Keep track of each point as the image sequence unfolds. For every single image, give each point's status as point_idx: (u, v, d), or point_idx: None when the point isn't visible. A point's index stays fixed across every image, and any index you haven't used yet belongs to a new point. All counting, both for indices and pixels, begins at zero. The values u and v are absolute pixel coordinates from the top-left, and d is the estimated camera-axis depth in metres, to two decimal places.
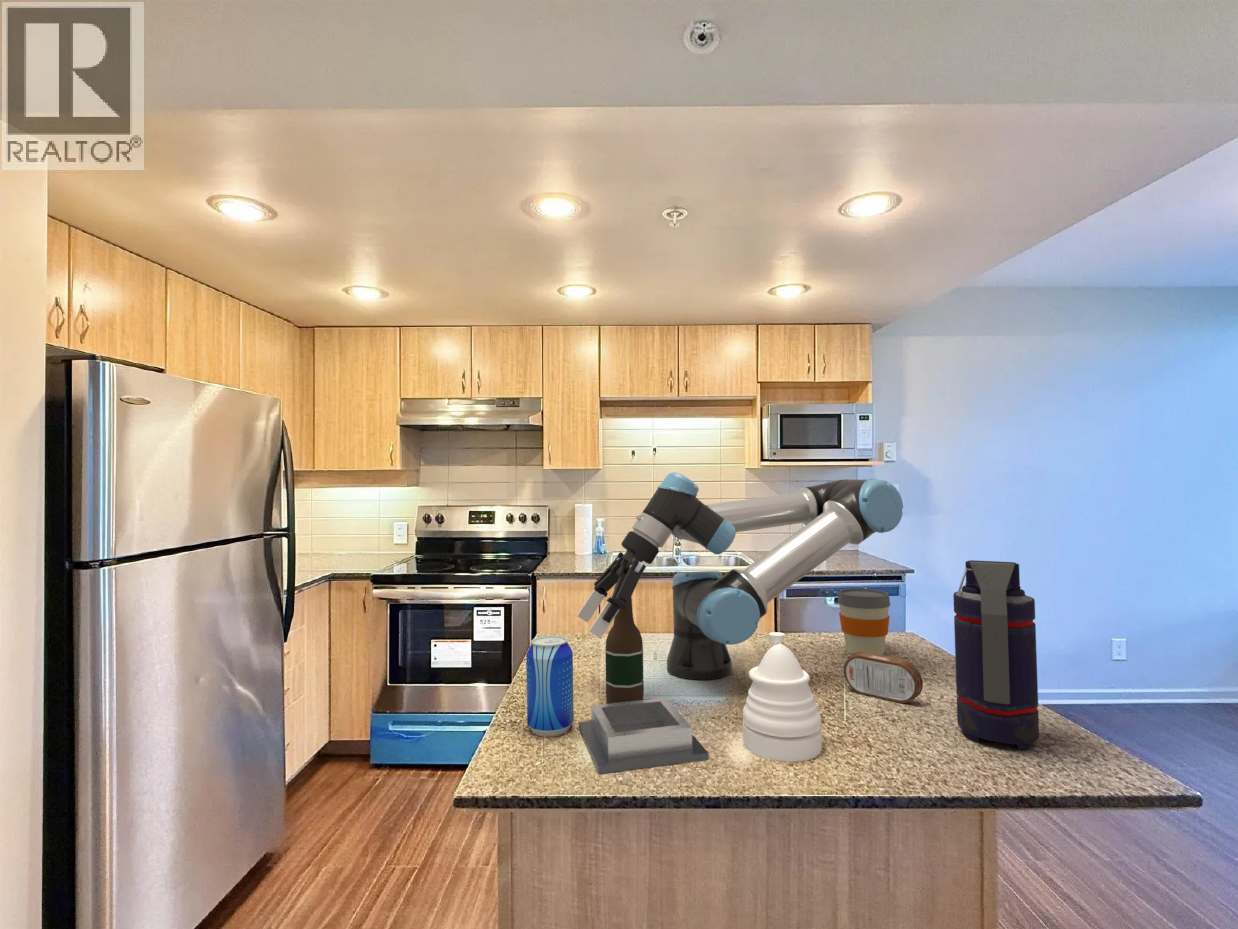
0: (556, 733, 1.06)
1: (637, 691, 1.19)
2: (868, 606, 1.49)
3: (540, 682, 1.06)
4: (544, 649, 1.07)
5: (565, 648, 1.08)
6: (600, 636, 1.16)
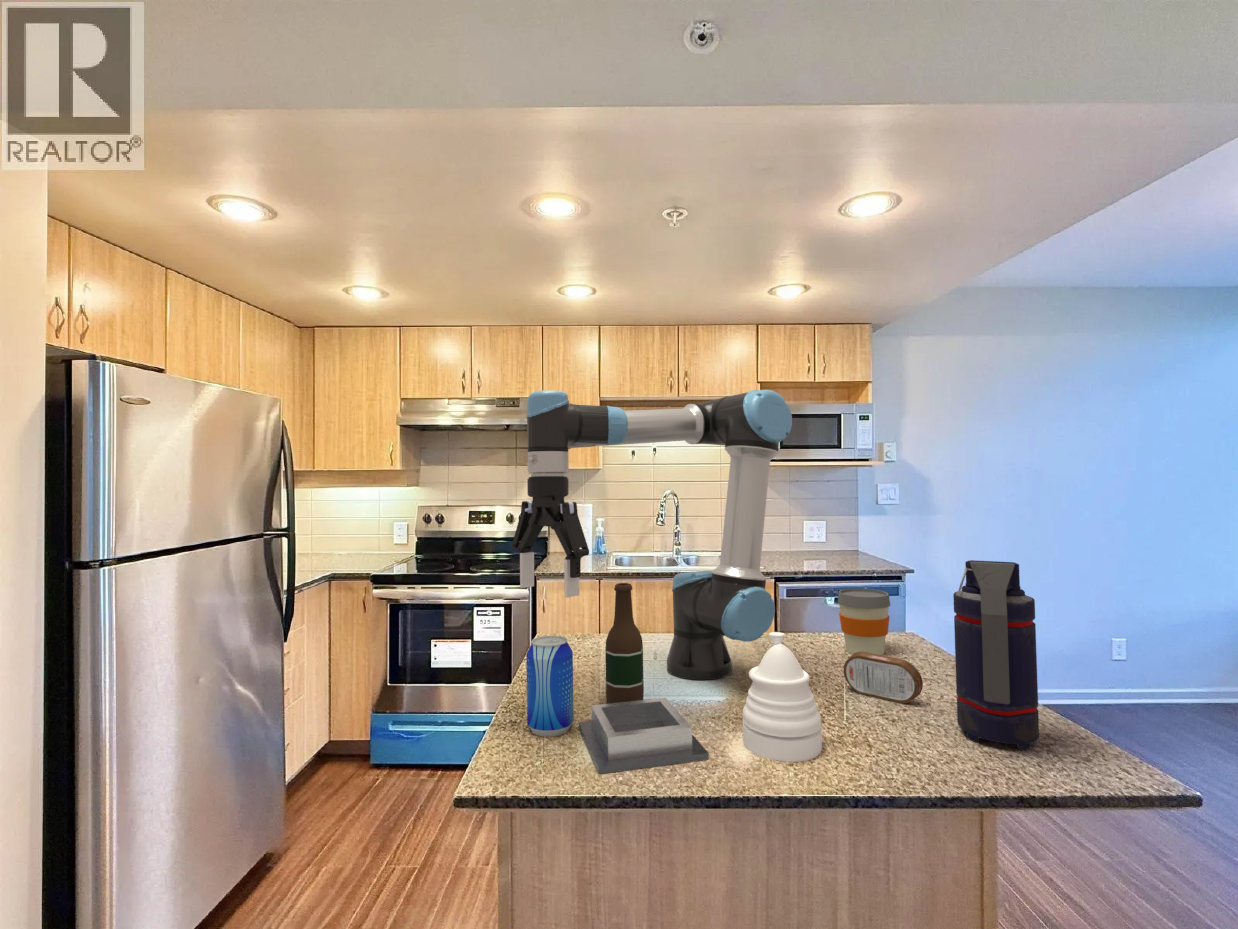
0: (556, 733, 1.06)
1: (637, 691, 1.19)
2: (868, 606, 1.49)
3: (540, 682, 1.06)
4: (544, 649, 1.07)
5: (565, 648, 1.08)
6: (578, 593, 1.06)
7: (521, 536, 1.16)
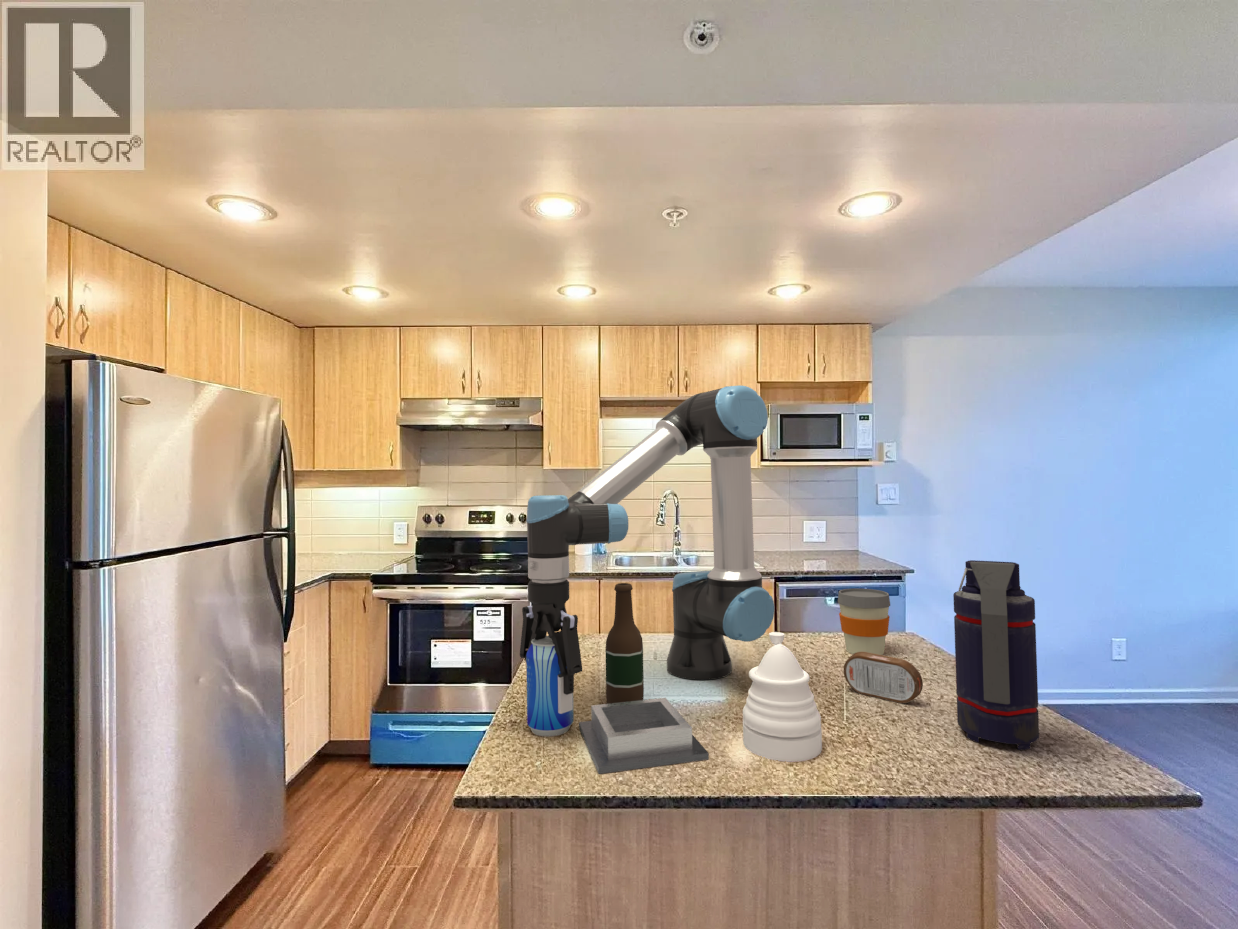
0: (556, 733, 1.06)
1: (637, 691, 1.19)
2: (868, 606, 1.49)
3: (540, 682, 1.06)
4: (544, 648, 1.07)
5: None
6: (571, 708, 1.07)
7: (527, 644, 1.14)
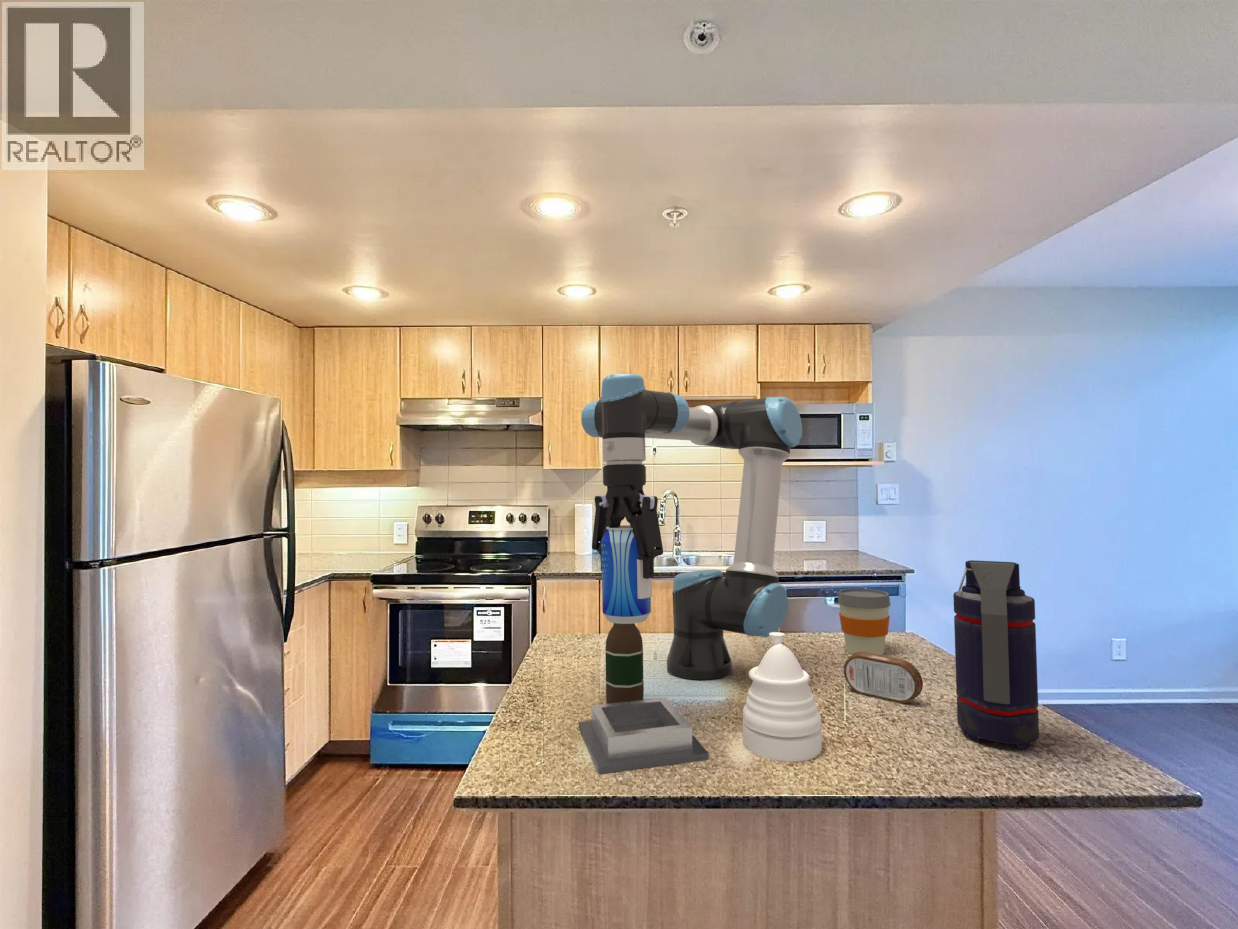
0: (634, 620, 1.01)
1: (637, 691, 1.19)
2: (868, 606, 1.49)
3: (618, 566, 1.01)
4: (621, 532, 1.02)
5: None
6: (650, 594, 1.02)
7: (600, 535, 1.09)
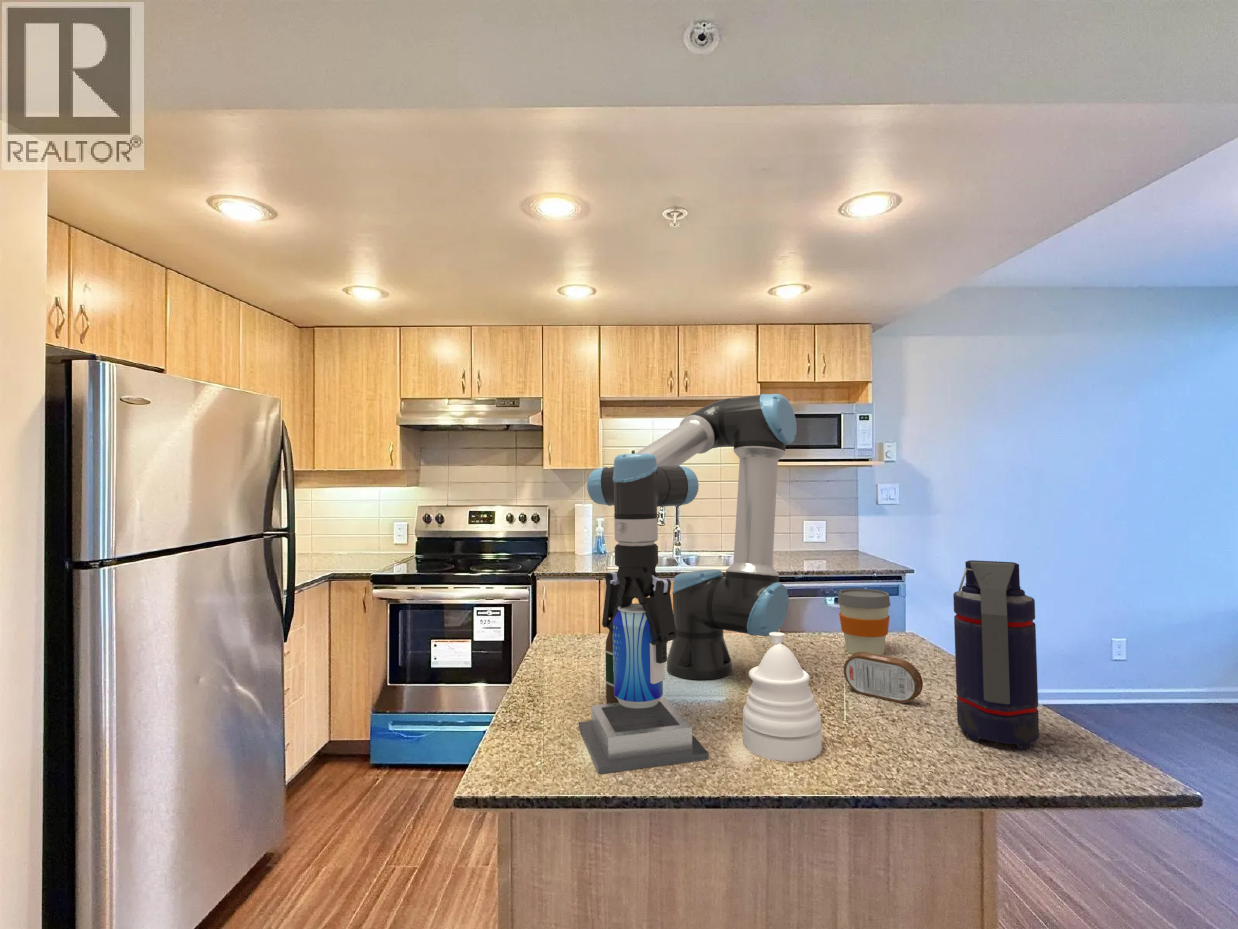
0: (647, 705, 1.00)
1: None
2: (868, 606, 1.49)
3: (631, 650, 1.00)
4: (634, 615, 1.01)
5: None
6: (663, 678, 1.01)
7: (611, 612, 1.08)
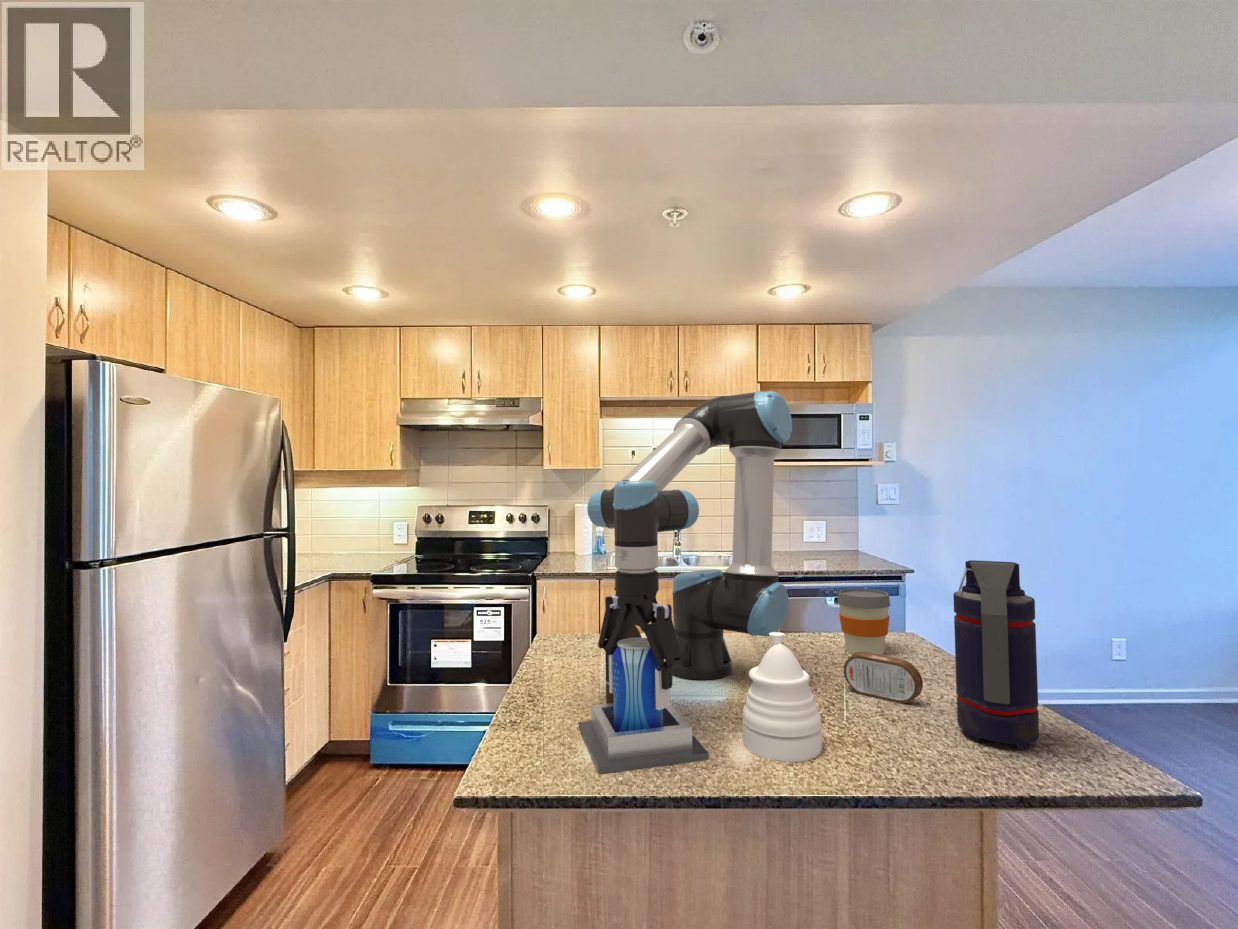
0: None
1: None
2: (868, 606, 1.49)
3: (631, 687, 0.99)
4: (633, 652, 1.00)
5: None
6: (669, 704, 1.00)
7: (608, 634, 1.08)
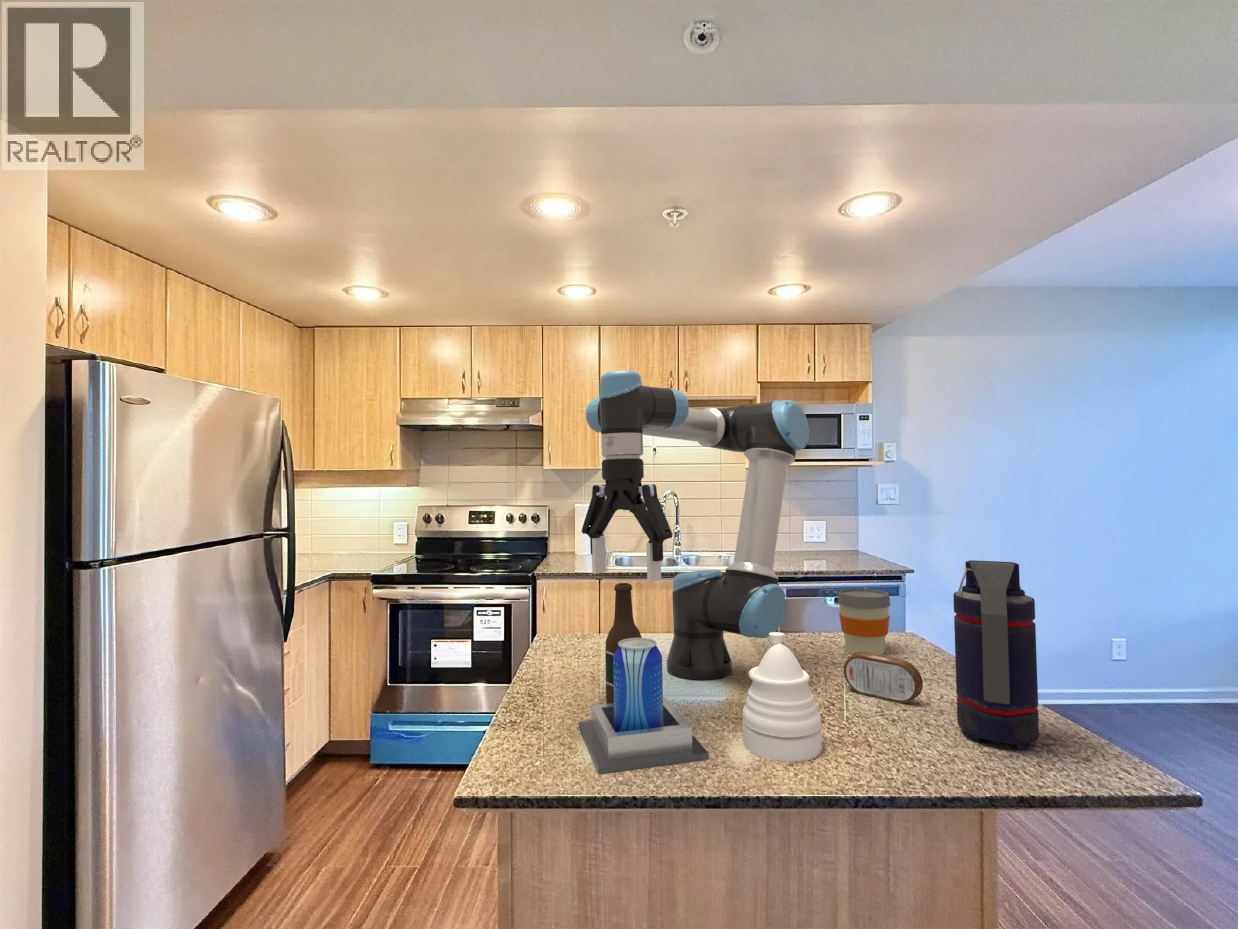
0: None
1: None
2: (868, 606, 1.49)
3: (631, 687, 0.99)
4: (634, 652, 1.00)
5: (655, 651, 1.02)
6: (660, 577, 1.04)
7: (592, 521, 1.13)
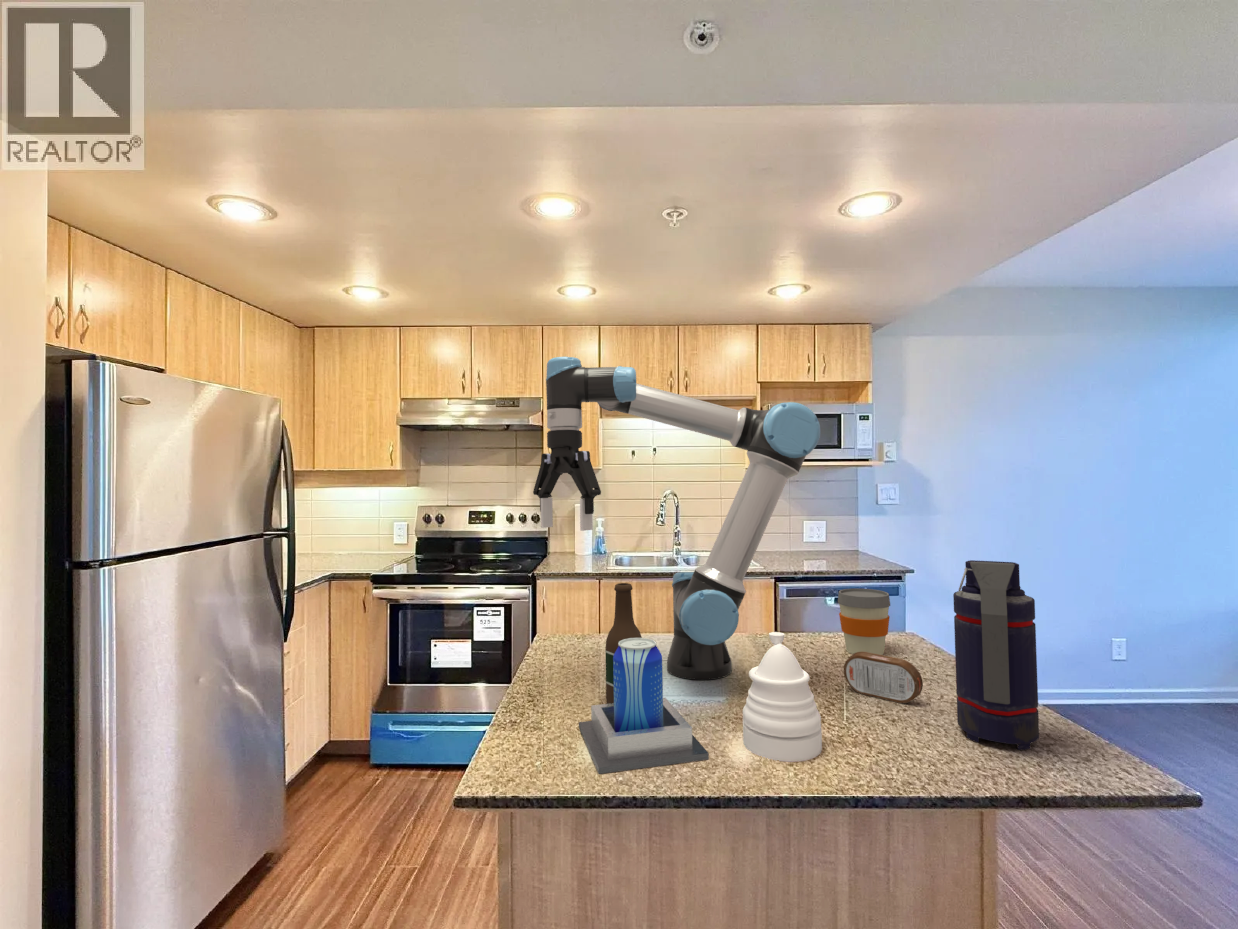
0: None
1: None
2: (868, 606, 1.49)
3: (631, 687, 0.99)
4: (634, 652, 1.00)
5: (655, 651, 1.02)
6: (591, 528, 1.25)
7: (541, 484, 1.35)
